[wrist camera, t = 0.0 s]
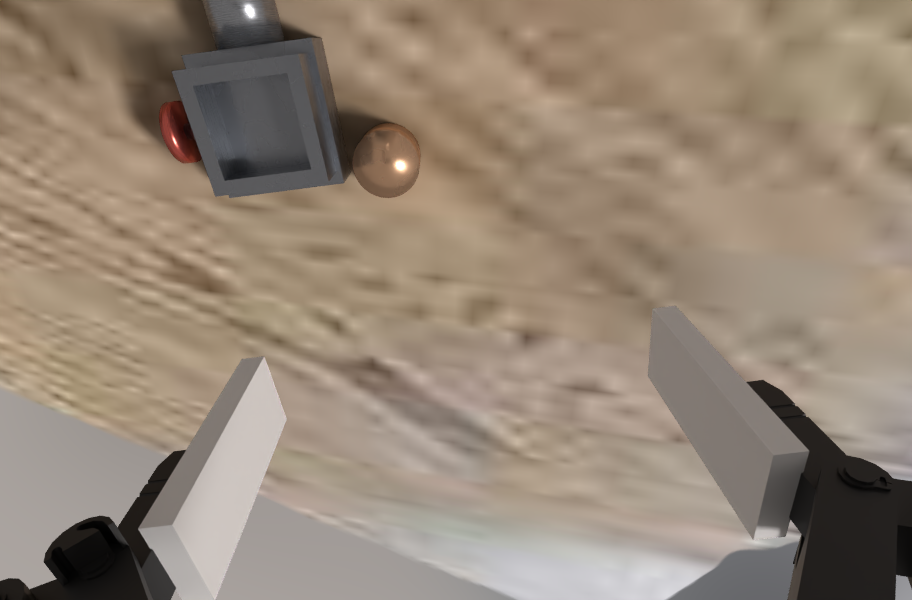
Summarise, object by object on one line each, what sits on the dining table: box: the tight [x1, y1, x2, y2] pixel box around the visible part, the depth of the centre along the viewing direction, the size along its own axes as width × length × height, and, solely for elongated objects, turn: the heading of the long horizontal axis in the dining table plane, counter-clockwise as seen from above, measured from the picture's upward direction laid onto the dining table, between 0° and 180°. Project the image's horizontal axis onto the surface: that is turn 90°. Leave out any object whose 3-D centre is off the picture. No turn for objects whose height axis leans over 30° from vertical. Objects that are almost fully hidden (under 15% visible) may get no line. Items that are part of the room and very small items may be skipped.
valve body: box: [159, 0, 351, 198], centre depth 35 cm, size 15×12×6 cm
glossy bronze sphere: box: [353, 123, 421, 198], centre depth 39 cm, size 5×5×4 cm
